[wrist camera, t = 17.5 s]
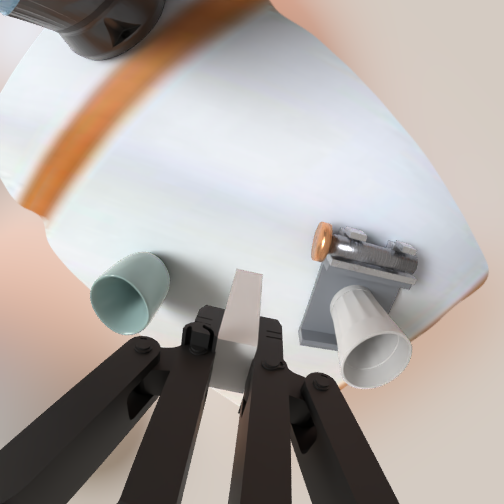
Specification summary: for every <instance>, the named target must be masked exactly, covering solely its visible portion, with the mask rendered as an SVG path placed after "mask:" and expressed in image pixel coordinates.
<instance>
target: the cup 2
mask: <svg viewBox="0 0 504 504" xmlns="http://www.w3.org/2000/svg"><path fill="white" fill-rule="evenodd" d="M330 313H331V316H332V319H333V322H334V328H335V334H336V339H337V345H338V357H339V364H340V372H341V376H342V378H343V380H344V381H345V382H346V383H347V384H348V385H350V386H352V387H354V388H359V389H371V388H376V387H379V386H382V385H384V384H387V383H389V382H390V381H392V380H393V379H395V378H396V377H397V376H399V375H400V374H401V373H402V372H403V370H404V369H405V368H406V366H407V365H408V363H409V361H410V359H411V355H412V345H411V342H410V340H409V339H408V338H407V336H406V335H405V334H404V333H403V331H402V330H401V329H400V328H399V327H398V325H397V324H396V323H395V322H394V321H393V320H392V319H391V318H390V316H389V315H388V314H387V313H386V311H385V310H384V309H383V308H382V306H381V305H380V304H379V303H378V302H377V300H376V299H375V298H374V296H373V294H372V293H371V291H370V290H369V289H367V288H366V287H364V286H361V285H351V286H347V287H345V288H343V289H341V290H340V291H339V292H337V293H336V295H335V296H334V297H333V299H332V301H331V304H330Z"/></svg>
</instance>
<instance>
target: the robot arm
mask: <svg viewBox="0 0 504 504" xmlns="http://www.w3.org/2000/svg"><path fill="white" fill-rule="evenodd" d="M164 2H165V0H0V12H1V13H2V14H3V15H7V16H10V17H14V18H17V19H20V20H24V21H27V22H30V23H33V24H36V25H39V26H42V27H45V28H48V29H50V30H53V31H56V32H58V33H59V34H60V35H61V37H62V38H63V39H64V40H65V42H66V43H67V44H68V45H69V47H70V48H71V50H72V51H74V52H75V53H76V54H78V55H80V56H83V57H85V58H88V59H91V60H104V59H109V58H112V57H115V56H117V55H120V54H122V53H124V52H125V51H127V50H129V49H130V48H132V47H133V46H135V45H136V44H137V43H138V42H140V41H141V40H142V39H143V38H144V37H145V36H146V35H147V34H148V33H149V32H150V31H151V29H152V28H153V27H154V25H155V24H156V22H157V21H158V19H159V17H160V15H161V13H162V10H163V7H164ZM262 277H263V274H258V273H254V272H249V271H245V270H240V269H237V270H236V273H235V277H234V280H233V284H232V287H231V291H230V294H229V298H228V302H227V305H226V309H221V308H217V307H212V306H208V305H206V306H204V307H203V308H201V309H200V310H199V312H198V315H197V317H196V319H195V322H193V323H189V324H187V325H185V327H184V328H183V333H182V343H181V346H178V347H174V348H162V347H160V345H159V343H158V342H157V341H156V340H154V339H153V338H150V337H147V336H138V337H134V338H132V339H130V340H129V341H128V342H126V343H125V344H124V345H123V346H122V347H120V348H119V349H118V350H117V351H116V352H114V353H113V354H112V355H111V356H110V357H108V358H107V359H106V360H105V361H104V362H103V363H101V364H100V365H99V366H98V367H97V368H95V369H94V370H93V371H92V372H91V373H89V374H88V375H87V376H86V377H85V378H84V379H82V380H81V381H80V382H79V383H78V384H76V385H75V386H74V387H73V388H72V389H71V390H69V391H68V392H67V393H66V394H65V395H63V396H62V397H61V398H60V399H59V400H58V401H56V402H55V403H54V404H53V405H52V406H51V407H50V408H48V409H47V410H46V411H45V412H44V413H43V414H41V415H40V416H39V417H38V418H37V419H35V420H34V421H33V422H32V423H31V424H30V425H28V426H27V427H26V428H25V429H24V430H23V431H22V432H21V433H19V434H18V435H17V436H16V437H15V438H14V439H12V440H11V441H10V442H9V443H8V444H7V445H6V446H4V447H3V448H2V449H1V450H0V504H66V503H67V502H68V501H69V500H70V499H71V498H72V497H73V496H74V495H75V494H76V492H77V491H78V490H79V489H80V488H81V487H82V486H83V484H84V483H85V482H86V481H87V480H88V479H89V477H91V475H92V474H93V473H94V472H95V471H96V470H97V469H98V467H99V466H100V465H101V464H102V463H103V462H104V460H105V459H106V458H107V457H108V456H109V455H110V454H111V452H112V451H113V450H114V449H115V448H116V447H117V445H118V444H119V443H120V442H121V441H122V440H123V438H124V437H125V436H126V435H127V434H128V433H129V431H130V430H131V429H132V428H133V427H134V425H135V424H136V423H137V422H138V421H139V420H140V418H141V417H142V416H143V415H144V414H145V413H146V411H147V410H148V409H149V408H150V407H151V405H152V404H153V403H154V402H155V401H156V399H157V398H158V396H160V397H159V399H158V402H157V405H156V407H155V409H154V412H153V414H152V417H151V419H150V422H149V424H148V427H147V429H146V432H145V434H144V437H143V440H142V442H141V445H140V447H139V450H138V452H137V455H136V457H135V460H134V463H133V465H132V468H131V471H130V473H129V476H128V479H127V481H126V484H125V487H124V490H123V492H122V495H121V497H120V500H119V501H118V503H117V504H181V501H182V497H183V492H184V488H185V484H186V479H187V475H188V471H189V467H190V463H191V459H192V455H193V450H194V446H195V442H196V438H197V434H198V430H199V426H200V421H201V418H202V413H203V409H204V405H205V401H206V397H207V392H208V387H214V388H218V389H223V390H228V391H232V392H237V393H243V392H244V396H243V399H242V402H241V406H240V409H239V412H238V413H240V417H239V425H238V433H237V440H236V448H235V455H234V463H233V470H232V478H231V485H230V493H229V500H228V504H292V499H291V498H292V496H291V442H292V445H293V448H294V451H295V454H296V457H297V460H298V463H299V466H300V469H301V472H302V475H303V478H304V481H305V484H306V487H307V490H308V493H309V495H310V499H311V501H312V504H399V502H398V500H397V498H396V496H395V494H394V492H393V490H392V488H391V486H390V485H389V482H388V481H387V479H386V477H385V475H384V473H383V471H382V469H381V467H380V465H379V463H378V461H377V459H376V457H375V455H374V453H373V452H372V450H371V448H370V446H369V444H368V442H367V440H366V438H365V436H364V435H363V432H362V431H361V429H360V427H359V425H358V423H357V421H356V419H355V417H354V415H353V413H352V412H351V410H350V408H349V406H348V404H347V402H346V400H345V398H344V397H343V395H342V393H341V391H340V389H339V387H338V385H337V383H336V382H335V381H334V379H333V378H331V377H330V376H328V375H326V374H324V373H318V372H315V373H310V374H309V375H308V376H307V377H306V378H305V377H303V376H300V375H298V374H295V373H293V372H292V371H290V370H289V369H288V367H287V364H286V362H285V361H284V360H283V341H282V326H281V325H280V323H279V321H278V320H276V319H271V318H266V317H261V316H260V305H261V291H262ZM244 389H245V390H244ZM290 439H291V440H290Z"/></svg>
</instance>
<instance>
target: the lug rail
mask: <svg viewBox="0 0 504 504" xmlns="http://www.w3.org/2000/svg"><path fill="white" fill-rule="evenodd" d="M338 235H340V236H344V237H348V238H352V239H355V240H360V241H364V242H366V240H367V235H366V234H365V233H364V232H363V231H362V230H358V229H355V228H351V227H347V226H346V229H345V228H341V227H340V231H339V234H338ZM386 248H389V249H392V250H396V251H400V252H403V253H408V254H411V255H416V252H417V250H416V249H415V248H414V247H412V246H411V245H410V244H407V243H404V242H400V241H397V240H396V243H395V242H392V241H388V243H387V246H386ZM326 258H327V260H328V262H329V264H330V266H334V267H338V268H343V269H347V270H351V271H356V272H360V273H364V274H369V275H373V276H377V277H382V278H386V279H390V280H395V281H399V282H403V283H407V284H412V285H415V283H416V281H417V279H416V278H415V277H414V276H413V275H412V274H411V275H410V274H406V273H402V272H398V271H394V270H390V269H386V268H382V267H378V266H374V265H370V264H366V263H362V262H357V261H353V260H349V259H345V258H341V257H337V256H332V255H328V254H327V256H326Z"/></svg>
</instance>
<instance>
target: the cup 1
mask: <svg viewBox="0 0 504 504" xmlns="http://www.w3.org/2000/svg"><path fill="white" fill-rule="evenodd" d="M169 286H170V276H169V272H168V270H167V268H166V266H165V264H164V263H163V262H162V261H161V259H159V258H158V257H157V256H155V255H154V254H152V253H149V252H137V253H134V254H131V255H129V256H127V257H125V258H123V259H122V260H120V261H118V262H117V263H116V264H114V265H113V266H112V267H110V268H109V269H108V270H107V271H105V272H104V273H103V274H102V275H101V276H100V277H99V278H98V279H97V280H96V281H95V282H94V284H93V286H92V288H91V291H90V299H91V304H92V307H93V309H94V311H95V313H96V314H97V316H98V317H99V318H100V320H101V321H102V322H103V323H104V324H105V325H106V326H107V327H108V328H110V329H111V330H113V331H114V332H116V333H119V334H122V335H133V334H136V333H139V332H141V331H142V330H144V329H145V328H146V327H147V326H148V324H149V323H150V322H151V321H152V319H153V318H154V316H155V315H156V313H157V312H158V310H159V308H160V307H161V305H162V303H163V301H164V300H165V298H166V296H167V293H168V290H169Z"/></svg>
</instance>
